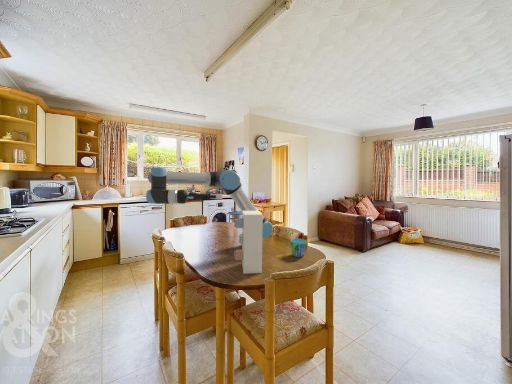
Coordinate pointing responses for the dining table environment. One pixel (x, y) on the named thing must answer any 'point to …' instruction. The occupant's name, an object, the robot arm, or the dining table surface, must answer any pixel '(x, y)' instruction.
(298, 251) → the snack cup
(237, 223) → the slate button
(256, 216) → the button pillar
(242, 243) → the sage button
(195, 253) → the dining table surface
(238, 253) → the terracotta button
